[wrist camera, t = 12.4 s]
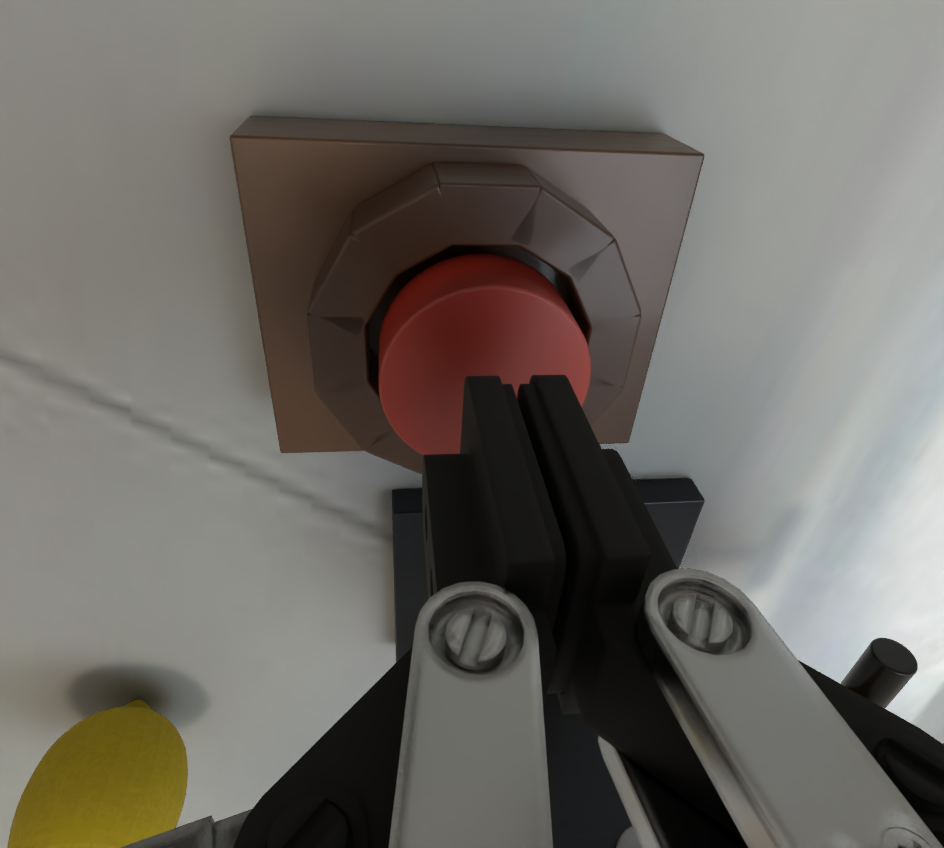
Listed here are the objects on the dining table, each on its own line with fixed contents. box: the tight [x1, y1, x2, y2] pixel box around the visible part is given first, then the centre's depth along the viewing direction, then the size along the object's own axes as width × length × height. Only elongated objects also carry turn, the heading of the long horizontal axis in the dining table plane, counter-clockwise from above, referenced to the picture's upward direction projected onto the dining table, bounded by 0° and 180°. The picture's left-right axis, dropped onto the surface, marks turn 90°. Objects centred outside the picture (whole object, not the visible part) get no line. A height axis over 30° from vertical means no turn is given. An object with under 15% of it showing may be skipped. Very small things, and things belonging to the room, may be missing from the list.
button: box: [379, 254, 591, 456], centre depth 13 cm, size 4×4×2 cm
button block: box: [230, 116, 704, 474], centre depth 15 cm, size 10×8×4 cm
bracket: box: [392, 479, 704, 848], centre depth 19 cm, size 11×9×13 cm
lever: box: [841, 638, 917, 709], centre depth 18 cm, size 13×5×2 cm, turn 87°
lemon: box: [8, 700, 188, 848], centre depth 23 cm, size 6×6×8 cm
